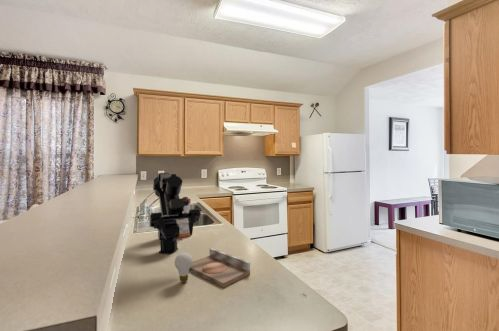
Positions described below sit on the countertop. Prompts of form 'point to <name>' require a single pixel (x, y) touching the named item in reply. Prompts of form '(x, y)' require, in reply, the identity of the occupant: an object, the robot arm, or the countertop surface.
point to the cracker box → (184, 223)
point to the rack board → (221, 268)
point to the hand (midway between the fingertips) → (179, 236)
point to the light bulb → (183, 265)
